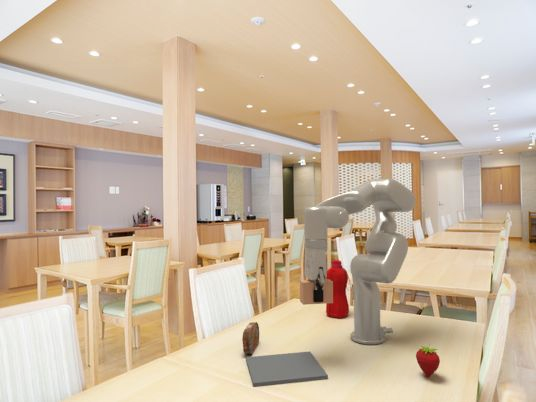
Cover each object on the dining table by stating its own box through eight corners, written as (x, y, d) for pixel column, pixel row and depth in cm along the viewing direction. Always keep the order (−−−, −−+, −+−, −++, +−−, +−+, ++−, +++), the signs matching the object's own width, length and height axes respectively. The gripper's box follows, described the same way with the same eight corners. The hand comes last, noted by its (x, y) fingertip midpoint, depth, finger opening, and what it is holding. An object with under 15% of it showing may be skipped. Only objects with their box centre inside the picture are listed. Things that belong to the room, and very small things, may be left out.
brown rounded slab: (250, 358, 125) (249, 333, 125) (241, 357, 126) (240, 332, 126) (260, 341, 140) (259, 319, 140) (252, 341, 141) (251, 318, 141)
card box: (300, 301, 124) (300, 280, 124) (328, 300, 126) (328, 279, 126) (303, 304, 120) (303, 282, 120) (333, 303, 122) (332, 281, 122)
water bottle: (347, 320, 162) (346, 262, 162) (323, 316, 168) (322, 261, 168) (354, 315, 170) (353, 259, 170) (332, 311, 176) (331, 258, 176)
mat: (310, 354, 127) (310, 351, 127) (327, 378, 110) (327, 375, 110) (245, 360, 123) (245, 357, 123) (253, 386, 106) (253, 383, 106)
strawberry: (428, 369, 114) (428, 337, 114) (445, 381, 107) (444, 346, 107) (411, 372, 113) (410, 339, 113) (427, 384, 106) (426, 348, 106)
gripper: (298, 242, 131) (298, 294, 131) (312, 247, 114) (312, 307, 114) (318, 241, 132) (319, 293, 132) (335, 246, 116) (336, 306, 116)
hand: (316, 299), depth 123 cm, fingers closed on card box, 4 cm apart
